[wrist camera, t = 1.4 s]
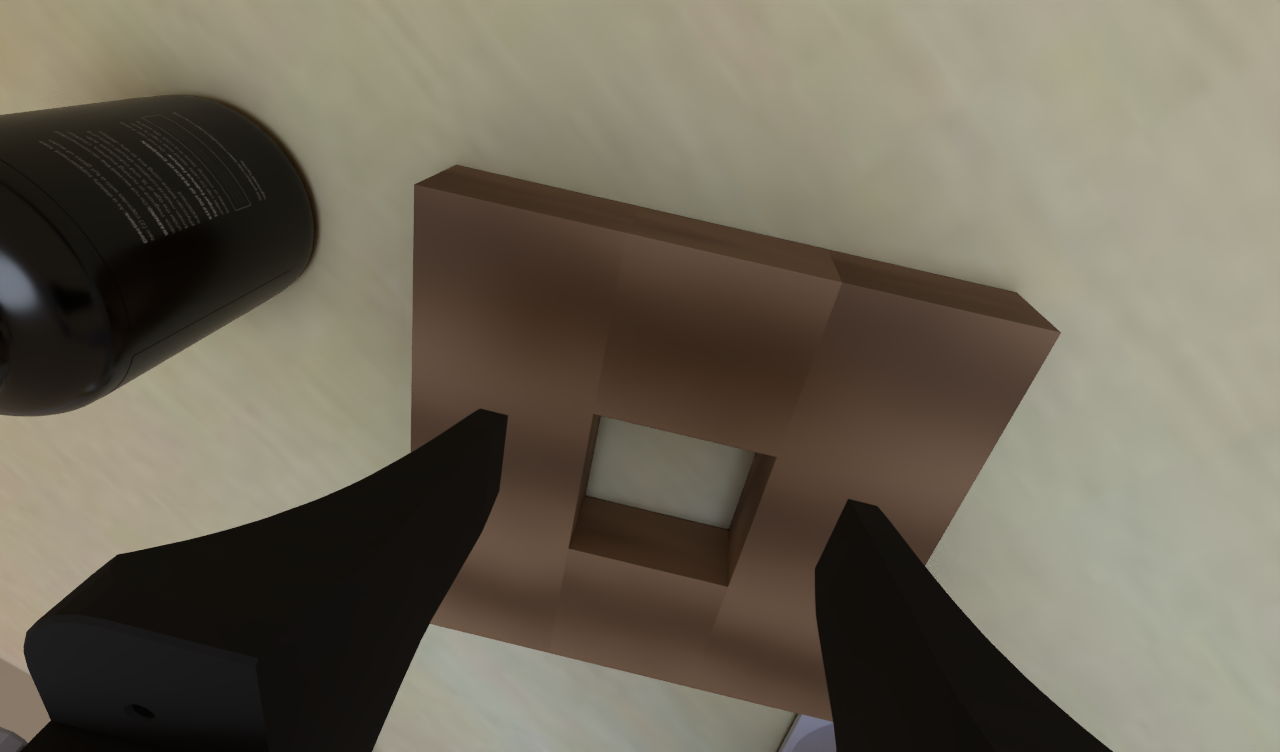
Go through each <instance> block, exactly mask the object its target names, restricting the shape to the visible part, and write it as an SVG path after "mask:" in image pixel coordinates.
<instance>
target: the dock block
mask: <svg viewBox="0 0 1280 752" xmlns="http://www.w3.org/2000/svg"><path fill="white" fill-rule="evenodd" d="M1060 333H1061V332H1060V331H1059V330H1057V329H1056V328H1055V327H1054V326H1053V325H1052V324H1051V323H1050V322H1049V321H1047V320H1046V319H1045V318H1044V317H1043V316H1042V315H1041V314H1040V313H1039V312H1038V311H1036V310H1035V309H1034V308H1033V307H1032V306H1031V305H1030V304H1029V303H1028V302H1026V301H1025V300H1024V299H1023V298H1022V297H1021V296H1020V295H1019V294H1018V293H1015V292H1011V291H1007V290H1002V289H998V288H993V287H989V286H985V285H980V284H976V283H971V282H967V281H963V280H958V279H954V278H950V277H945V276H941V275H936V274H932V273H928V272H923V271H919V270H914V269H910V268H906V267H901V266H897V265H893V264H888V263H884V262H879V261H875V260H871V259H866V258H862V257H857V256H853V255H849V254H844V253H840V252H836V251H831V250H827V249H822V248H818V247H814V246H809V245H805V244H800V243H796V242H792V241H787V240H783V239H779V238H774V237H770V236H765V235H761V234H757V233H752V232H748V231H743V230H739V229H735V228H730V227H726V226H722V225H717V224H713V223H708V222H704V221H700V220H695V219H691V218H686V217H682V216H678V215H673V214H669V213H665V212H660V211H656V210H651V209H647V208H643V207H638V206H634V205H629V204H625V203H621V202H616V201H612V200H608V199H603V198H599V197H594V196H590V195H586V194H581V193H577V192H572V191H568V190H564V189H559V188H555V187H551V186H546V185H542V184H537V183H533V182H529V181H524V180H520V179H515V178H511V177H507V176H502V175H498V174H494V173H489V172H485V171H480V170H476V169H472V168H467V167H463V166H458V165H455V166H453V167H451V168H449V169H447V170H444V171H442V172H440V173H438V174H436V175H434V176H432V177H429V178H427V179H425V180H423V181H421V182H419V183H417V184H414V252H413V328H412V405H411V452H412V451H414V450H416V449H417V448H419V447H421V446H422V445H424V444H425V443H427V442H429V441H430V440H432V439H433V438H435V437H437V436H438V435H440V434H441V433H443V432H444V431H446V430H447V429H449V428H450V427H452V426H453V425H455V424H456V423H458V422H459V421H461V420H462V419H464V418H465V417H467V416H468V415H470V414H471V413H473V412H474V411H476V410H478V409H480V408H481V409H485V410H489V411H493V412H497V413H501V414H505V415H508V422H507V430H506V439H505V447H504V456H503V464H502V473H501V481H500V490H499V493H498V496H497V498H496V500H495V503H494V505H493V508H492V510H491V513H490V515H489V517H488V520H487V522H486V524H485V527H484V529H483V531H482V533H481V535H480V537H479V539H478V540H477V542H476V544H475V546H474V547H473V549H472V551H471V553H470V554H469V556H468V558H467V560H466V561H465V563H464V565H463V567H462V568H461V570H460V572H459V573H458V575H457V577H456V579H455V580H454V582H453V584H452V586H451V587H450V589H449V591H448V592H447V594H446V596H445V598H444V599H443V601H442V603H441V605H440V606H439V608H438V610H437V611H436V613H435V615H434V617H433V618H432V620H431V622H430V624H433V625H437V626H441V627H445V628H450V629H454V630H458V631H462V632H466V633H470V634H474V635H478V636H482V637H486V638H491V639H495V640H499V641H503V642H507V643H511V644H515V645H519V646H523V647H527V648H532V649H536V650H540V651H544V652H548V653H552V654H556V655H560V656H564V657H568V658H573V659H577V660H581V661H585V662H589V663H593V664H597V665H601V666H605V667H609V668H614V669H618V670H622V671H626V672H630V673H634V674H638V675H642V676H646V677H650V678H655V679H659V680H663V681H667V682H671V683H675V684H679V685H683V686H687V687H691V688H696V689H700V690H704V691H708V692H712V693H716V694H720V695H724V696H728V697H732V698H737V699H741V700H745V701H749V702H753V703H757V704H761V705H765V706H769V707H773V708H778V709H782V710H786V711H790V712H794V713H798V714H802V715H806V716H810V717H814V718H819V719H823V720H827V721H831V722H833V718H832V712H831V706H830V700H829V694H828V688H827V682H826V676H825V670H824V664H823V658H822V652H821V646H820V640H819V633H818V627H817V620H816V609H815V567H816V565H817V563H818V561H819V559H820V557H821V555H822V552H823V550H824V548H825V546H826V544H827V542H828V540H829V538H830V536H831V534H832V531H833V529H834V527H835V525H836V523H837V521H838V519H839V517H840V515H841V513H842V510H843V508H844V506H845V504H846V502H847V500H848V499H851V500H855V501H860V502H864V503H868V504H872V505H876V506H878V507H879V508H880V510H881V511H882V512H883V513H884V514H885V516H886V517H887V518H888V519H889V521H890V522H891V523H892V524H893V526H894V527H895V528H896V529H897V531H898V532H899V533H900V535H901V536H902V537H903V539H904V540H905V541H906V542H907V544H908V545H909V546H910V548H911V549H912V550H913V551H914V553H915V554H916V555H917V557H918V558H919V559H920V560H921V562H922V563H923V564H924V566H925V565H926V563H927V561H928V560H929V558H930V556H931V554H932V553H933V551H934V549H935V548H936V546H937V544H938V542H939V541H940V539H941V537H942V536H943V534H944V532H945V530H946V529H947V527H948V525H949V524H950V522H951V520H952V518H953V517H954V515H955V513H956V512H957V510H958V508H959V506H960V505H961V503H962V501H963V500H964V498H965V496H966V494H967V493H968V491H969V489H970V488H971V486H972V484H973V482H974V481H975V479H976V477H977V476H978V474H979V472H980V470H981V469H982V467H983V465H984V464H985V462H986V460H987V458H988V457H989V455H990V453H991V452H992V450H993V448H994V446H995V445H996V443H997V441H998V440H999V438H1000V436H1001V434H1002V433H1003V431H1004V429H1005V428H1006V426H1007V424H1008V422H1009V421H1010V419H1011V417H1012V416H1013V414H1014V412H1015V410H1016V409H1017V407H1018V405H1019V404H1020V402H1021V400H1022V398H1023V397H1024V395H1025V393H1026V392H1027V390H1028V388H1029V386H1030V385H1031V383H1032V381H1033V380H1034V378H1035V376H1036V374H1037V373H1038V371H1039V369H1040V368H1041V366H1042V364H1043V362H1044V361H1045V359H1046V357H1047V356H1048V354H1049V352H1050V350H1051V349H1052V347H1053V345H1054V344H1055V342H1056V340H1057V338H1058V337H1059V335H1060ZM600 416H604V417H608V418H613V419H617V420H621V421H625V422H630V423H634V424H638V425H642V426H647V427H651V428H655V429H659V430H664V431H668V432H672V433H676V434H681V435H685V436H689V437H693V438H698V439H702V440H706V441H710V442H715V443H719V444H723V445H727V446H732V447H736V448H740V449H744V450H749V451H753V452H756V454H755V457H754V460H753V463H752V466H751V469H750V471H749V474H748V477H747V480H746V483H745V486H744V488H743V491H742V494H741V497H740V500H739V503H738V505H737V508H736V511H735V514H734V517H733V520H732V523H731V525H730V528H729V530H725V529H720V528H716V527H712V526H708V525H704V524H700V523H695V522H691V521H687V520H683V519H679V518H674V517H670V516H666V515H662V514H658V513H653V512H649V511H645V510H641V509H637V508H632V507H628V506H624V505H620V504H616V503H611V502H607V501H603V500H599V499H595V498H590V497H586V496H585V494H586V489H587V484H588V479H589V473H590V468H591V463H592V458H593V453H594V448H595V442H596V437H597V432H598V427H599V422H600Z"/></svg>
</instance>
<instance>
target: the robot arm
mask: <svg viewBox="0 0 1280 752" xmlns="http://www.w3.org/2000/svg"><path fill="white" fill-rule="evenodd" d="M507 422H508V415H505V414H501V413H497V412H493V411H489V410H485V409H481V408H480V409H478V410H476V411H474V412H473V413H471V414H470V415H468V416H467V417H465V418H464V419H462V420H461V421H459V422H458V423H456V424H455V425H453V426H452V427H450V428H449V429H447V430H446V431H444V432H443V433H441V434H440V435H438V436H437V437H435V438H433V439H432V440H430V441H429V442H427V443H425V444H424V445H422V446H421V447H419V448H417V449H416V450H414V451H412V452H411V453H409V454H408V455H406V456H404V457H403V458H401V459H399V460H397V461H395V462H394V463H392V464H390V465H388V466H386V467H385V468H383V469H381V470H379V471H377V472H375V473H374V474H372V475H370V476H368V477H366V478H364V479H362V480H360V481H358V482H356V483H354V484H352V485H350V486H347V487H345V488H343V489H341V490H338V491H336V492H334V493H331V494H329V495H327V496H325V497H322V498H320V499H317V500H315V501H312V502H309V503H307V504H304V505H301V506H298V507H296V508H293V509H290V510H287V511H285V512H282V513H279V514H276V515H273V516H271V517H268V518H265V519H262V520H259V521H255V522H252V523H249V524H245V525H242V526H239V527H236V528H232V529H228V530H225V531H221V532H217V533H214V534H210V535H206V536H202V537H198V538H194V539H190V540H186V541H181V542H176V543H172V544H167V545H162V546H158V547H153V548H148V549H144V550H139V551H134V552H129V553H124V554H118V555H117V556H115V557H114V558H113V559H111V560H110V561H109V562H107V563H106V564H105V565H104V566H102V567H101V568H100V569H99V570H97V571H96V572H95V573H94V574H92V575H91V576H90V577H89V578H88V579H86V580H85V581H84V582H83V583H82V584H80V585H79V586H78V587H77V588H76V589H75V590H73V591H72V592H71V593H70V594H69V595H67V596H66V597H65V598H64V599H63V600H62V601H60V602H59V603H58V604H57V605H56V606H54V607H53V608H52V609H51V610H50V611H49V612H47V613H46V614H45V615H44V616H43V617H41V618H40V619H39V620H38V621H37V622H36V623H35V624H34V625H33V626H32V627H31V628H30V629H29V630H28V631H27V633H26V638H25V642H24V655H25V659H26V663H27V667H28V669H29V672H30V674H31V676H32V678H33V681H34V683H35V685H36V687H37V690H38V692H39V694H40V696H41V698H42V701H43V703H44V705H45V708H46V710H47V712H48V714H49V717H50V719H51V721H50V722H49V723H48V724H47V725H46V726H45V727H44V728H43V729H42V730H41V731H40V732H39V733H38V734H37V735H36V736H35V737H34V738H33V739H32V740H31V741H30V742H29V743H27V742H26V741H25V740H24V739H23V738H21V737H20V736H19V735H17V734H16V733H14V732H12V731H9V730H7V729H4V728H2V727H0V752H372V750H373V748H374V746H375V743H376V741H377V738H378V736H379V734H380V731H381V729H382V727H383V724H384V722H385V720H386V718H387V715H388V713H389V711H390V708H391V706H392V704H393V701H394V699H395V697H396V695H397V692H398V690H399V688H400V685H401V683H402V681H403V679H404V677H405V674H406V672H407V670H408V668H409V665H410V663H411V661H412V659H413V657H414V654H415V652H416V650H417V648H418V646H419V643H420V641H421V639H422V637H423V635H424V633H425V632H426V630H427V628H428V626H429V624H430V622H431V620H432V618H433V617H434V615H435V613H436V611H437V610H438V608H439V606H440V605H441V603H442V601H443V599H444V598H445V596H446V594H447V592H448V591H449V589H450V587H451V586H452V584H453V582H454V580H455V579H456V577H457V575H458V573H459V572H460V570H461V568H462V567H463V565H464V563H465V561H466V560H467V558H468V556H469V554H470V553H471V551H472V549H473V547H474V546H475V544H476V542H477V540H478V539H479V537H480V535H481V533H482V531H483V529H484V527H485V524H486V522H487V520H488V517H489V515H490V513H491V510H492V508H493V505H494V503H495V500H496V498H497V496H498V493H499V490H500V481H501V473H502V464H503V456H504V447H505V439H506V430H507ZM815 609H816V620H817V627H818V633H819V640H820V646H821V652H822V658H823V664H824V670H825V676H826V682H827V688H828V694H829V700H830V706H831V712H832V718H833V722H831V721H827V720H823V719H819V718H814V717H810V716H806V715H802V714H798V716H797V717H796V719H795V721H794V723H793V725H792V727H791V729H790V731H789V733H788V734H787V736H786V738H785V740H784V742H783V744H782V746H781V748H780V750H779V751H778V752H1113V751H1112V750H1110V749H1109V748H1108V747H1106V746H1105V745H1104V744H1103V743H1101V742H1100V741H1099V740H1098V739H1096V738H1095V737H1094V736H1093V735H1092V734H1090V733H1089V732H1088V731H1087V730H1085V729H1084V728H1083V727H1082V726H1080V725H1079V724H1078V723H1077V722H1076V721H1075V720H1073V719H1072V718H1071V717H1070V716H1069V715H1068V714H1067V713H1065V712H1064V711H1063V710H1062V709H1061V708H1060V707H1058V706H1057V705H1056V704H1055V703H1054V702H1053V701H1052V700H1050V699H1049V698H1048V697H1047V696H1046V695H1045V694H1044V693H1042V692H1041V691H1040V690H1039V689H1038V688H1037V687H1036V686H1035V685H1034V684H1033V683H1032V682H1031V681H1029V680H1028V679H1027V678H1026V677H1025V676H1024V675H1023V674H1022V673H1021V672H1020V671H1019V670H1018V669H1017V668H1016V667H1015V666H1014V665H1013V664H1012V663H1011V662H1010V661H1009V660H1008V659H1007V658H1006V657H1005V656H1004V655H1003V654H1002V653H1001V652H1000V651H999V650H998V649H997V648H996V647H995V646H994V645H993V644H992V643H991V642H990V641H989V640H988V639H987V638H986V637H985V636H984V635H983V634H982V633H981V631H980V630H979V629H978V628H977V627H976V626H975V625H974V624H973V623H972V621H971V620H970V619H969V618H968V617H967V616H966V615H965V614H964V612H963V611H962V610H961V609H960V608H959V607H958V606H957V605H956V603H955V602H954V601H953V600H952V599H951V597H950V596H949V595H948V594H947V593H946V592H945V590H944V589H943V588H942V587H941V585H940V584H939V583H938V582H937V581H936V579H935V578H934V577H933V576H932V574H931V573H930V572H929V571H928V569H927V568H926V567H925V566H924V564H923V563H922V562H921V560H920V559H919V558H918V557H917V555H916V554H915V553H914V551H913V550H912V549H911V548H910V546H909V545H908V544H907V542H906V541H905V540H904V539H903V537H902V536H901V535H900V533H899V532H898V531H897V529H896V528H895V527H894V526H893V524H892V523H891V522H890V521H889V519H888V518H887V517H886V516H885V514H884V513H883V512H882V511H881V510H880V508H879V507H878V506H876V505H872V504H868V503H864V502H860V501H855V500H851V499H848V500H847V502H846V504H845V506H844V508H843V510H842V513H841V515H840V517H839V519H838V521H837V523H836V525H835V527H834V529H833V531H832V534H831V536H830V538H829V540H828V542H827V544H826V546H825V548H824V550H823V552H822V555H821V557H820V559H819V561H818V563H817V565H816V567H815Z"/></svg>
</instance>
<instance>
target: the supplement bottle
mask: <svg viewBox="0 0 1280 752" xmlns="http://www.w3.org/2000/svg"><path fill="white" fill-rule="evenodd" d="M313 240H314V221H313V214H312V209H311V205H310V201H309V198H308V195H307V192H306V190H305V187H304V185H303V183H302V180H301V179H300V177H299V175H298V173H297V171H296V169H295V168H294V166H293V165H292V163H291V162H290V160H289V159H288V157H287V156H286V155H285V153H284V152H283V151H282V150H281V148H280V147H279V146H278V145H277V144H276V143H275V142H274V141H273V140H272V139H271V137H270V136H269V135H267V134H266V133H265V132H264V131H263V130H262V129H261V128H260V127H258V126H257V125H256V124H254V123H253V122H252V121H250V120H249V119H247V118H246V117H244V116H243V115H241V114H240V113H238V112H236V111H234V110H233V109H231V108H229V107H227V106H224V105H222V104H220V103H217V102H214V101H212V100H208V99H205V98H200V97H196V96H190V95H162V96H153V97H142V98H133V99H125V100H117V101H109V102H101V103H93V104H85V105H77V106H69V107H61V108H53V109H45V110H37V111H29V112H21V113H13V114H5V115H0V415H9V416H45V415H54V414H61V413H65V412H69V411H73V410H76V409H79V408H82V407H84V406H86V405H88V404H90V403H92V402H94V401H96V400H98V399H100V398H102V397H104V396H106V395H107V394H109V393H111V392H113V391H114V390H116V389H118V388H120V387H121V386H123V385H125V384H126V383H128V382H130V381H131V380H133V379H135V378H137V377H138V376H140V375H142V374H143V373H145V372H147V371H148V370H150V369H152V368H154V367H155V366H157V365H159V364H160V363H162V362H164V361H165V360H167V359H169V358H171V357H172V356H174V355H176V354H177V353H179V352H181V351H182V350H184V349H186V348H188V347H189V346H191V345H193V344H194V343H196V342H198V341H199V340H201V339H203V338H205V337H206V336H208V335H210V334H211V333H213V332H215V331H216V330H218V329H220V328H221V327H223V326H225V325H227V324H228V323H230V322H232V321H233V320H235V319H237V318H238V317H240V316H242V315H244V314H245V313H247V312H249V311H250V310H252V309H254V308H255V307H257V306H259V305H261V304H262V303H264V302H266V301H267V300H269V299H270V298H272V297H274V296H275V295H277V294H278V293H280V292H282V291H283V290H284V289H286V288H287V287H288V286H290V285H291V284H292V283H293V282H294V281H295V280H296V279H297V278H298V277H299V276H300V274H301V273H302V272H303V270H304V268H305V267H306V265H307V263H308V260H309V258H310V255H311V251H312V247H313Z"/></svg>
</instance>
